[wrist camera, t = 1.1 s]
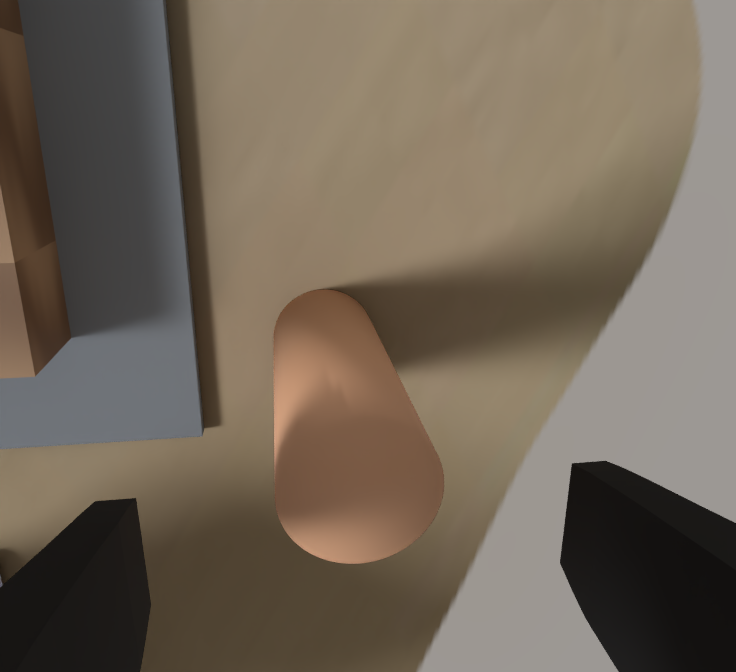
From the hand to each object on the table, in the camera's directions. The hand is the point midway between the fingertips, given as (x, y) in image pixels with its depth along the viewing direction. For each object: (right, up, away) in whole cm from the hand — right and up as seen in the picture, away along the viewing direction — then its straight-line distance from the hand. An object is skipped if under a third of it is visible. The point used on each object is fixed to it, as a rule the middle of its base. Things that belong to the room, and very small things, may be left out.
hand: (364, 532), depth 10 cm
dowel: (-1, +3, +10) cm, 10 cm away
